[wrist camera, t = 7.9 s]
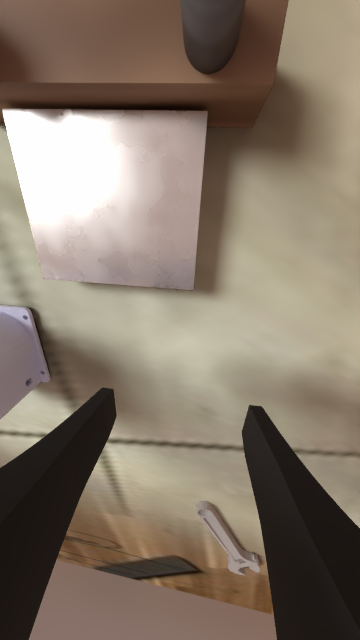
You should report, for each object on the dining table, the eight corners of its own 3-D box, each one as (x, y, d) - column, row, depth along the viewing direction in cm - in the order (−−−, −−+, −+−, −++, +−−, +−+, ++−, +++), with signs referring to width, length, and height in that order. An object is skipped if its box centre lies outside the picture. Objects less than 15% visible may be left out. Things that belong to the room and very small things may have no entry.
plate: (194, 281, 17) (193, 290, 15) (67, 272, 18) (43, 278, 15) (206, 136, 13) (207, 110, 10) (40, 132, 14) (1, 108, 11)
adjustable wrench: (193, 497, 32) (193, 511, 31) (231, 494, 31) (233, 509, 29) (230, 562, 41) (232, 575, 39) (261, 562, 40) (264, 576, 38)
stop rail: (252, 127, 12) (306, 15, 6) (-8, 122, 14) (-190, 25, 7) (263, 58, 11) (345, -174, 5) (-24, 59, 12) (-262, -124, 6)
